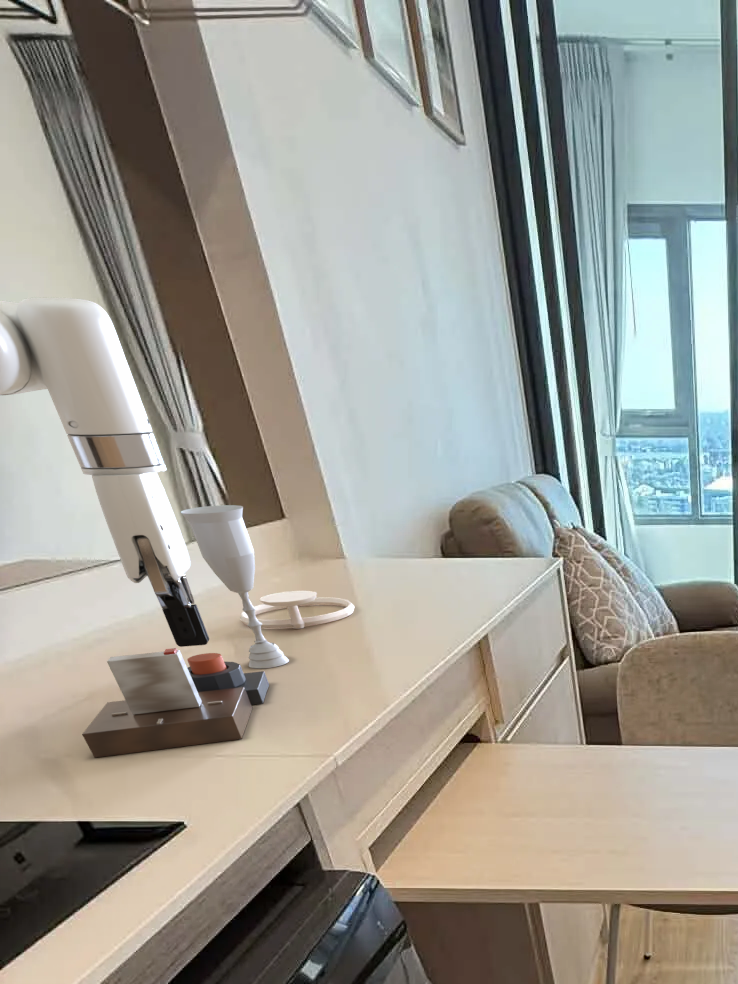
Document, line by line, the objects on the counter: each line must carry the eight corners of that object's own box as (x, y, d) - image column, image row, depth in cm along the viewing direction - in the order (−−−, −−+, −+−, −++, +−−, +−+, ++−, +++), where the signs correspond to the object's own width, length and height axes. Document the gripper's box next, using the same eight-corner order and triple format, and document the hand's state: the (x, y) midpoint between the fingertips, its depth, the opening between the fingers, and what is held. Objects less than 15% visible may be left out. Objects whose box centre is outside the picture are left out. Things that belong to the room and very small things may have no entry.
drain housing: (169, 714, 98) (155, 683, 96) (181, 694, 104) (168, 665, 102) (263, 703, 101) (251, 673, 99) (269, 684, 107) (258, 655, 104)
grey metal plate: (132, 714, 90) (105, 658, 87) (135, 709, 92) (109, 654, 88) (199, 706, 92) (175, 651, 88) (202, 702, 93) (178, 647, 90)
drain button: (191, 678, 99) (184, 662, 98) (196, 670, 101) (189, 654, 100) (225, 674, 100) (219, 659, 98) (229, 666, 102) (223, 651, 101)
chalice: (281, 670, 112) (224, 513, 100) (230, 671, 112) (168, 514, 100) (305, 655, 117) (253, 504, 106) (256, 655, 117) (200, 505, 106)
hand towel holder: (346, 572, 141) (349, 596, 126) (354, 600, 144) (358, 627, 129) (234, 581, 136) (223, 607, 121) (245, 611, 139) (236, 640, 124)
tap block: (94, 758, 88) (80, 732, 86) (118, 724, 96) (106, 700, 94) (241, 739, 91) (231, 714, 90) (252, 708, 99) (243, 685, 98)
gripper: (95, 450, 91) (169, 632, 103) (56, 462, 80) (144, 664, 92) (173, 449, 93) (237, 626, 105) (146, 460, 82) (221, 657, 94)
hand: (193, 643), depth 98 cm, fingers closed
